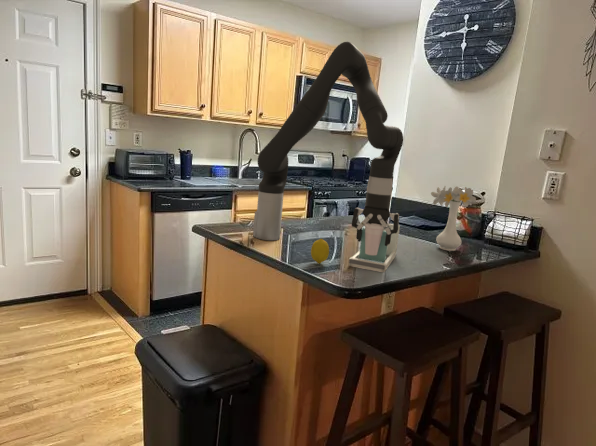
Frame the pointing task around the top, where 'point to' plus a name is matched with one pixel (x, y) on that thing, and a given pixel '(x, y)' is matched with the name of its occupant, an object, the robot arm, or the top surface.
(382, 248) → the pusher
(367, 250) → the smoothie
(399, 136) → the robot arm
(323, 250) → the lemon
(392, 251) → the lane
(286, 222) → the top surface
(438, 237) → the flower vase
